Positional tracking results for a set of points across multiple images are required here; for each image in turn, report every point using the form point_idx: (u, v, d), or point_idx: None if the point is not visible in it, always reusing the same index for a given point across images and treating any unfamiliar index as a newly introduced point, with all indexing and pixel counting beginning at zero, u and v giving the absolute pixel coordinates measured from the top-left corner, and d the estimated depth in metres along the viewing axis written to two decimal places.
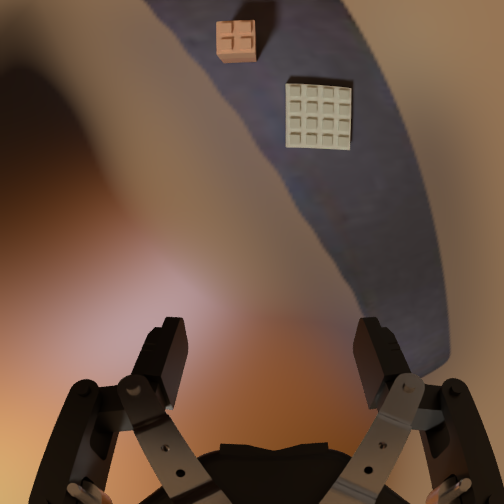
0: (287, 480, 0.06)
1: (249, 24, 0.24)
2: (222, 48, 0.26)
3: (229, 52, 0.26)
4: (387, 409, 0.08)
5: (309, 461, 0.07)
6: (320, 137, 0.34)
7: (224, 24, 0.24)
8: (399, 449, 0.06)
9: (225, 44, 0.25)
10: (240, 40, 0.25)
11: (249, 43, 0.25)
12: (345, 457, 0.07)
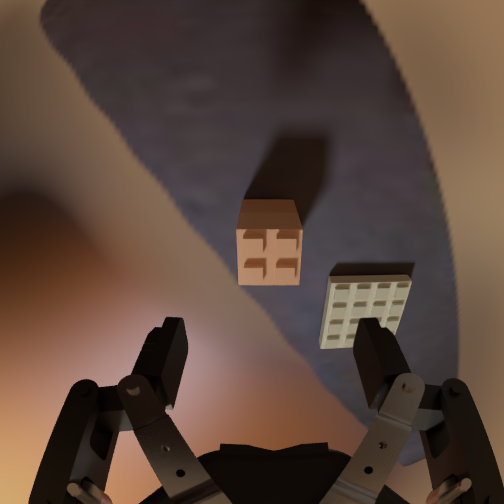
0: (287, 480, 0.06)
1: (294, 243, 0.18)
2: (248, 282, 0.19)
3: (258, 283, 0.20)
4: (387, 409, 0.08)
5: (309, 461, 0.07)
6: None
7: (251, 241, 0.18)
8: (399, 449, 0.06)
9: (253, 276, 0.19)
10: (277, 271, 0.19)
11: (292, 276, 0.19)
12: (345, 457, 0.07)
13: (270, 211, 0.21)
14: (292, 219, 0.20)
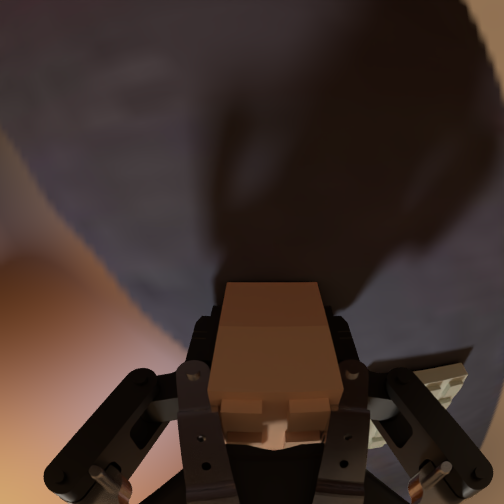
0: (287, 480, 0.06)
1: (324, 416, 0.08)
2: None
3: None
4: None
5: (309, 461, 0.07)
6: None
7: (237, 416, 0.08)
8: (366, 436, 0.07)
9: None
10: (288, 445, 0.09)
11: None
12: None
13: (277, 324, 0.11)
14: (321, 351, 0.09)
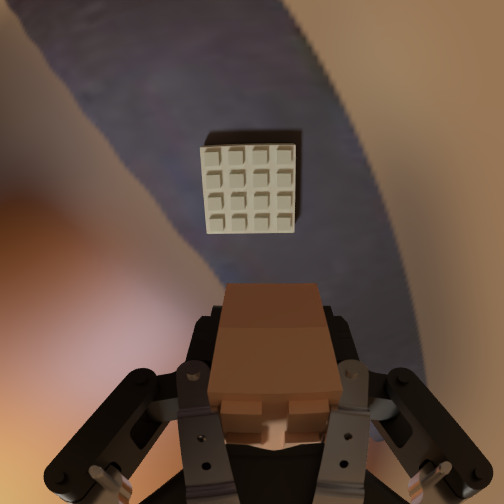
0: (287, 480, 0.06)
1: (323, 417, 0.08)
2: None
3: None
4: None
5: (309, 461, 0.07)
6: (251, 218, 0.27)
7: (237, 417, 0.08)
8: (366, 436, 0.07)
9: None
10: (288, 446, 0.09)
11: None
12: None
13: (277, 325, 0.11)
14: (320, 353, 0.09)
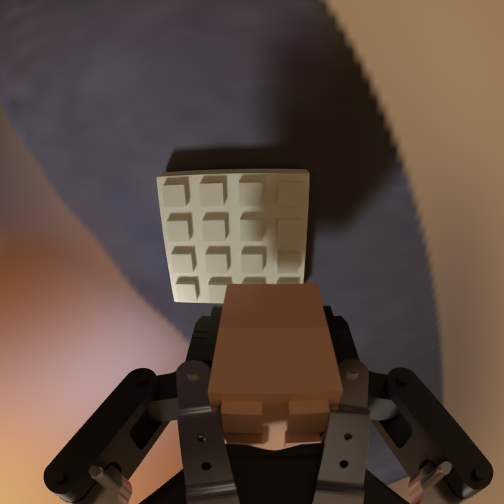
0: (287, 480, 0.06)
1: (324, 418, 0.08)
2: None
3: None
4: None
5: (309, 461, 0.07)
6: None
7: (237, 417, 0.08)
8: (366, 436, 0.07)
9: None
10: (288, 446, 0.09)
11: None
12: None
13: (277, 326, 0.11)
14: (320, 353, 0.10)
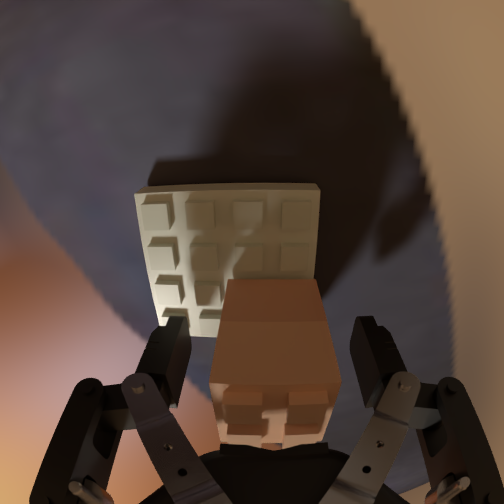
0: (287, 480, 0.06)
1: (323, 409, 0.08)
2: None
3: None
4: (383, 408, 0.08)
5: (309, 461, 0.07)
6: None
7: (238, 408, 0.08)
8: (397, 447, 0.06)
9: (244, 442, 0.09)
10: (287, 438, 0.09)
11: (312, 441, 0.09)
12: (345, 457, 0.07)
13: (277, 320, 0.11)
14: (319, 346, 0.10)
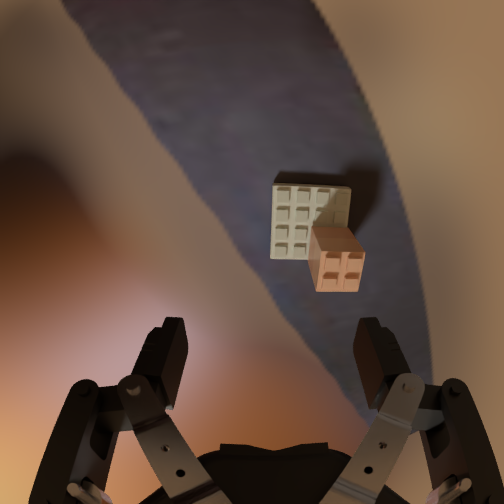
0: (287, 480, 0.06)
1: (360, 262, 0.25)
2: (325, 289, 0.26)
3: (330, 290, 0.27)
4: (387, 409, 0.08)
5: (309, 461, 0.07)
6: None
7: (331, 260, 0.25)
8: (399, 449, 0.06)
9: (329, 285, 0.26)
10: (346, 281, 0.26)
11: (355, 285, 0.26)
12: (345, 457, 0.07)
13: (337, 237, 0.28)
14: (355, 244, 0.27)
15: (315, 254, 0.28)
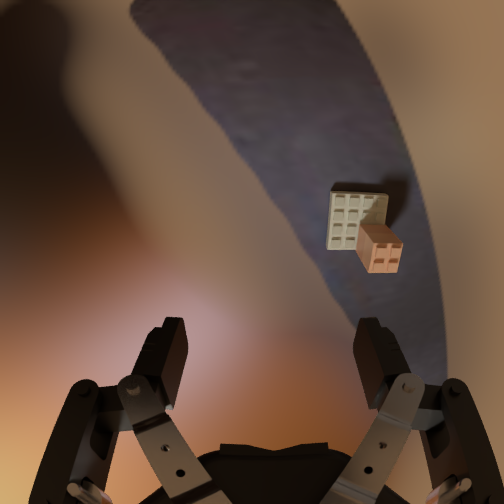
0: (287, 480, 0.06)
1: (399, 250, 0.33)
2: (375, 271, 0.34)
3: (378, 272, 0.35)
4: (387, 409, 0.08)
5: (309, 461, 0.07)
6: None
7: (381, 249, 0.33)
8: (399, 449, 0.06)
9: (378, 267, 0.34)
10: (390, 265, 0.34)
11: (396, 267, 0.34)
12: (345, 457, 0.07)
13: (380, 233, 0.36)
14: (394, 237, 0.35)
15: (366, 245, 0.36)
